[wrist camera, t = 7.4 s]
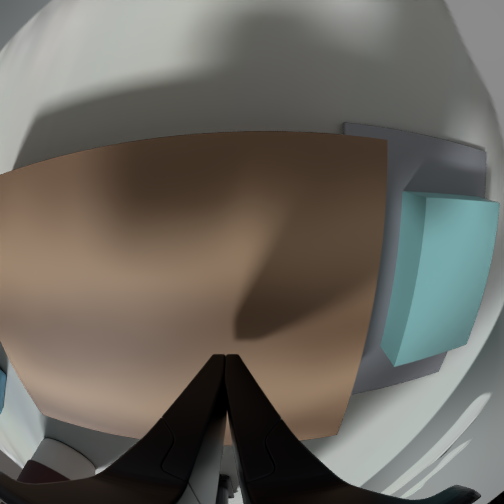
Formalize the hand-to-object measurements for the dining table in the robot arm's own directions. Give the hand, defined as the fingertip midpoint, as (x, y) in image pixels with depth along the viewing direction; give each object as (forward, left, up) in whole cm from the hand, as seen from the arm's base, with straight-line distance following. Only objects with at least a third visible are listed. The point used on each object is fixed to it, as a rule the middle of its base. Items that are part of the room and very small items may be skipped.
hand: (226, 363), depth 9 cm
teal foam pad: (+1, -12, -3) cm, 12 cm away
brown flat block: (0, +4, -5) cm, 6 cm away
